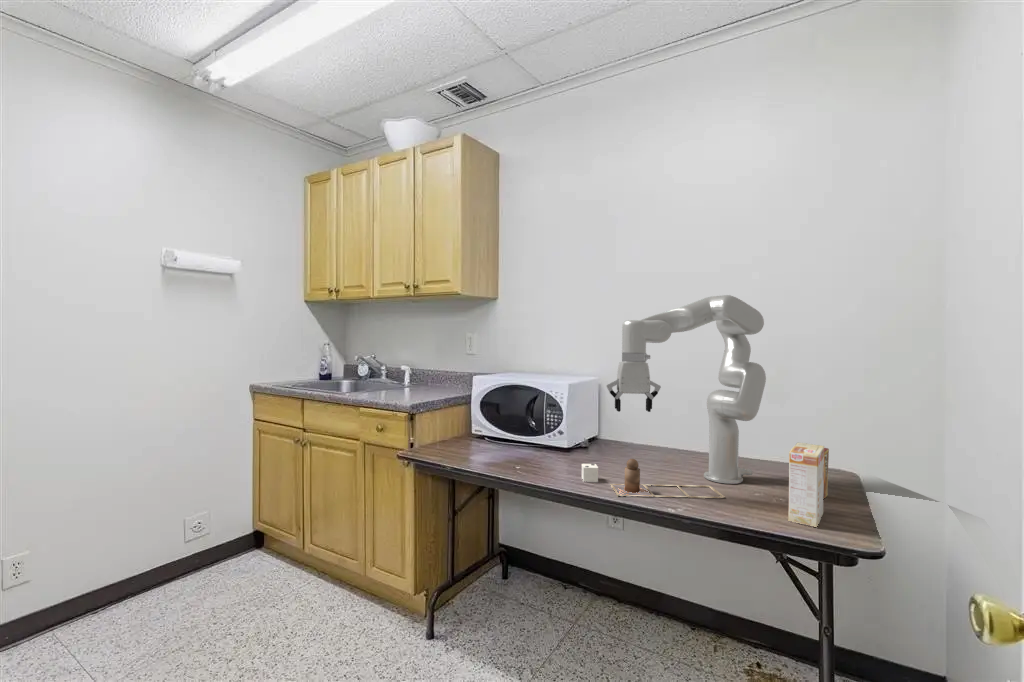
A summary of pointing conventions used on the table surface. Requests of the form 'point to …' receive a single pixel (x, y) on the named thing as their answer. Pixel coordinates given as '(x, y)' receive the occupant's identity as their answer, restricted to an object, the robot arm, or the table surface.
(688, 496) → the board
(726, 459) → the robot arm
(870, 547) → the table surface
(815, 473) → the coffeecake box
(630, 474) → the pawn
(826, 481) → the candy box
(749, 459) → the table surface
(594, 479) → the die
